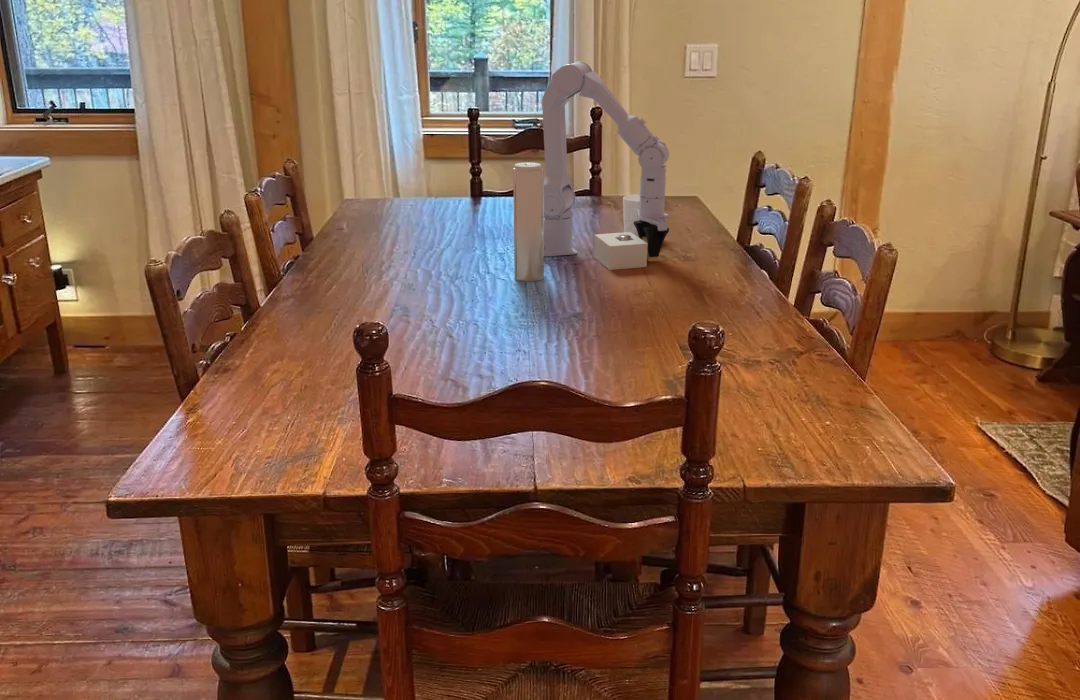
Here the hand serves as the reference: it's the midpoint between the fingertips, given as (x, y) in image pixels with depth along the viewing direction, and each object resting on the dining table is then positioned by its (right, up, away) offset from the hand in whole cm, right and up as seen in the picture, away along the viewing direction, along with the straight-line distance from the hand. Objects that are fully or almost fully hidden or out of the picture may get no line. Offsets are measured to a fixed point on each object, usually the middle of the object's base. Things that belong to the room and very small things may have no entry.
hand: (649, 253), depth 220 cm
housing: (-7, -2, -1) cm, 8 cm away
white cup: (-1, +6, +21) cm, 22 cm away
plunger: (-6, +2, -3) cm, 7 cm away
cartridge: (-4, -2, 0) cm, 4 cm away
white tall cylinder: (-28, -7, -13) cm, 32 cm away
